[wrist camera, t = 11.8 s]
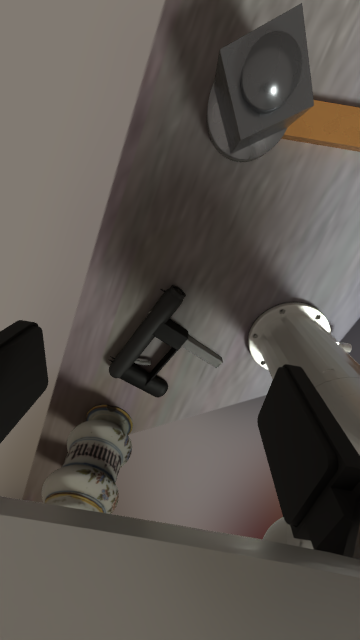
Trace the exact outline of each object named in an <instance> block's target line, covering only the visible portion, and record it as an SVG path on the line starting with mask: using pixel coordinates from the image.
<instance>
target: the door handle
mask: <svg viewBox="0 0 360 640" xmlns="http://www.w3.org/2000/svg"><path fill="white" fill-rule="evenodd" d="M161 290H162V289H161ZM162 291H164V292H165V293H164V294H163V296H162V297H161V298H160V300H159V301H158V302H157V304H156V305H155V306H154V308H153V309H152V310H151V311H150V312H149V314H148V316H147V317H146V318H145V320H144V321H143V322H142V324H141V325H140V326H139V328H138V329H137V330H136V332H135V333H134V334H133V336H132V337H131V338H130V340H129V341H128V342H127V344H126V345H125V346H124V348H123V349H122V350H121V352H120V353H119V354H118V356H117V357H116V358H113V357H112V358H113V359H115V360H114V361H111V360H110V361H111V362H112V364H111V365H110V367H109V373H110V375H111V376H112V377H114V378H120V379H122V380H124V381H126V382H128V383H130V384H132V385H134V386H136V387H137V388H139V389H141V390H143V391H145V392H147V393H149V394H151V395H153V396H155V397H161V396H163V395H164V394H165V393H166V391H167V389H168V384H167V383H166V382H165V381H163V380H161V379H159V378H158V377H156V374H157V373H158V372H159V371H160V370H161V369H162V368H163V366H164V365H165V364H166V363H167V362H168V361H169V360H170V359H171V357H172V356H173V355H174V354H175V353H176V352H177V351H178V350H179V349H180V347H183V348H184V349H186V350H188V351H189V352H191V353H192V354H194V355H196V356H197V357H199V358H201V359H202V360H204V361H206V362H207V363H209V364H211V365H212V366H214V367H215V368H217V367H218V366H219V365H220V364H221V363H222V362H223V361H222V358H221V357H220V356H218V355H217V354H215V353H214V352H212V351H211V350H210V349H208V348H207V347H205V346H204V345H202V344H201V343H199V342H198V341H196V340H195V339H193V338H192V337H190V336H189V335H188V331H187V330H186V329H184V328H183V327H181V326H180V325H178V324H177V323H175V322H174V321H172V320H171V319H169V318H170V317H171V316H172V315H173V313H174V312H175V311H176V310H177V308H178V307H179V306H180V305H181V303H182V301H183V299H184V297H185V296H186V295H185V293H184V292H183V291H182V290H181V289H180V288H179V287H177V286H175V285H172V286H171V288H170V289H168V290H166V291H165V290H162ZM154 337H156V338H158V339H160V340H161V341H163V342H165V343H166V344H168V345H170V346H171V347H172V348H171V349H170V350H169V352H168V353H167V354H166V355H165V356H164V357H163V359H162V360H161V361H160V362H159V363H158V364H157V365H156V367H155V368H154V369H153V370H152V371H151V372H150V373H148V372H147V371H145V370H143V369H141V368H139V367H137V366H136V365H134V364H133V363H136V364H141V365H151V361H139V360H136V359H137V358H138V357H139V356H140V354H141V353H142V352H143V351H144V349H145V348H146V347H147V346H148V344H149V343H150V342H151V341H152V340H153V338H154ZM110 357H111V356H110ZM108 360H109V359H108Z"/></svg>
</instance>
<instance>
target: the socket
mask: <svg viewBox="0 0 360 640" xmlns="http://www.w3.org/2000/svg"><path fill="white" fill-rule="evenodd" d="M214 90H215V94H216V98H217V102H218V106H219V110H220V114H221V118H222V122H223V126H224V130H225V134H226V138H227V142H228V146H229V150H230V154H232V153H235V152H237V151H239V150H241V149H243V148H245V147H248V146H250V145H252V144H254V143H256V142H258V141H260V140H263V139H265V138H267V137H269V136H271V135H273V134H276V133H278V132H280V131H282V130H284V129H286V128H288V127H289V126H290V125H291V124H292V123H294V122H295V121H296V120H297V119H298V118H300V117H301V116H302V115H303V114H304V113H306V112H307V111H308V110H309V109H310V108H312V107H313V106H314V100H313V91H312V83H311V75H310V66H309V58H308V50H307V41H306V33H305V24H304V16H303V8H302V3H301V4H299V5H298V6H296V7H294V8H292V9H291V10H289V11H287V12H285V13H283V14H282V15H280V16H278V17H276V18H275V19H273V20H271V21H269V22H267V23H266V24H264V25H262V26H260V27H259V28H257V29H255V30H253V31H252V32H250V33H248V34H246V35H244V36H243V37H241V38H239V39H237V40H236V41H234V42H232V43H230V44H229V45H227V46H225V47H223V48H221V49H220V51H219V57H218V64H217V70H216V76H215V82H214Z"/></svg>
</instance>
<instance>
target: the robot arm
mask: <svg viewBox="0 0 360 640" xmlns="http://www.w3.org/2000/svg"><path fill="white" fill-rule="evenodd" d="M281 309H282V310H281ZM280 310H281V311H280ZM248 347H249V350H250V353H251V355H252V357H253V359H254V360H255V361H256V362H257V363H258V364H259V365H260V366H262V367H263V368H265V369H267V370H269V372H270V374H271V376H272V379H273V381H272V383H271V386H270V388H269V391H268V393H267V396H266V398H265V401H264V403H263V406H262V408H261V410H260V413H259V415H258V427H259V430H260V434H261V438H262V442H263V445H264V449H265V452H266V456H267V460H268V463H269V467H270V471H271V474H272V478H273V481H274V485H275V488H276V492H277V496H278V499H279V503H280V507H281V510H282V514H283V517H282V518H281V519H279V520H278V521H276V522H275V523H274V524H273V525H272V526H271V527H270V528H269V529H268V531H267V532H266V534H265V536H264V538H263V540H261V539H256V538H250V537H244V536H238V535H231V534H226V533H220V532H214V531H208V530H202V529H197V528H191V527H185V526H179V525H173V524H167V523H161V522H155V521H149V520H143V519H137V518H130V517H125V516H119V515H112V514H107V513H101V512H95V511H88V510H82V509H76V508H70V507H64V506H58V505H52V504H46V503H39V502H33V501H27V500H20V499H14V498H7V497H1V496H0V640H360V365H359V364H358V363H357V362H356V361H355V360H354V359H353V358H352V357H351V356H350V355H349V354H348V352H350V351H351V349H352V348H351V345H350V344H347V343H342V342H340V343H339V342H338V341H337V340H336V339H335V338H333V337H332V336H331V329H330V325H329V322H328V320H327V319H326V317H325V316H324V315H323V314H322V313H321V312H320V311H319V310H318V309H316V308H314V307H313V306H310V305H308V304H304V303H298V302H296V303H285V304H280V305H278V306H275V307H273V308H271V309H269V310H267V311H266V312H264V313H263V314H262V315H261V316H260V317H259V318H258V319H257V320H256V321H255V322H254V324H253V326H252V327H251V329H250V332H249V336H248ZM47 385H48V375H47V367H46V358H45V350H44V341H43V333H42V329H41V328H40V327H38V324H37V323H34V322H28V321H22V320H19V321H17V322H15V323H13V324H12V325H10V326H9V327H7V328H5V329H4V330H2V331H0V443H1V442H2V441H3V440H4V438H5V437H6V436H7V435H8V434H9V432H10V431H11V430H12V429H13V428H14V427H15V425H16V424H17V423H18V422H19V420H20V419H21V418H22V417H23V416H24V415H25V413H26V412H27V411H28V410H29V409H30V407H31V406H32V405H33V404H34V403H35V402H36V400H37V399H38V398H39V397H40V396H41V394H42V393H43V392H44V391H45V389H46V388H47Z"/></svg>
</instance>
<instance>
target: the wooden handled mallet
mask: <svg viewBox="0 0 360 640" xmlns="http://www.w3.org/2000/svg"><path fill="white" fill-rule="evenodd" d="M214 82H215V81H214ZM207 127H208V132H209V135H210V138H211V141H212V143H213V145H214V146H215V148H216V149H217V150H218V151H219V153H221V154H222V155H223V156H224V157H226V158H228V159H230V160H232V161H236V162H248V161H252V160H255V159H257V158H259V157H261V156H262V155H264V154H265V153H266V152H268V151H269V150H271V149H272V148H273V147H274V146H275V145H276V144H277V143H278V142H279V141H280V139H287V140H293V141H299V142H305V143H311V144H317V145H323V146H329V147H335V148H341V149H347V150H353V151H359V152H360V108H359V107H353V106H347V105H341V104H335V103H329V102H323V101H317V100H314V106H313V107H312V108H310V109H309V110H308V111H307V112H306V113H304V114H303V115H302V116H301V117H300V118H298V119H297V120H296V121H295V122H294V123H292V124H291V125H290V126H289V127H288V128H286V129H284V130H282V131H280V132H278V133H276V134H273V135H271V136H269V137H267V138H265V139H263V140H260V141H258V142H256V143H254V144H252V145H250V146H248V147H245V148H243V149H241V150H239V151H237V152H235V153H232V154H230V150H229V146H228V142H227V138H226V134H225V130H224V126H223V122H222V118H221V114H220V110H219V106H218V102H217V98H216V94H215V90H214V83H213V86H212V89H211V92H210V96H209V101H208V108H207Z"/></svg>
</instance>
